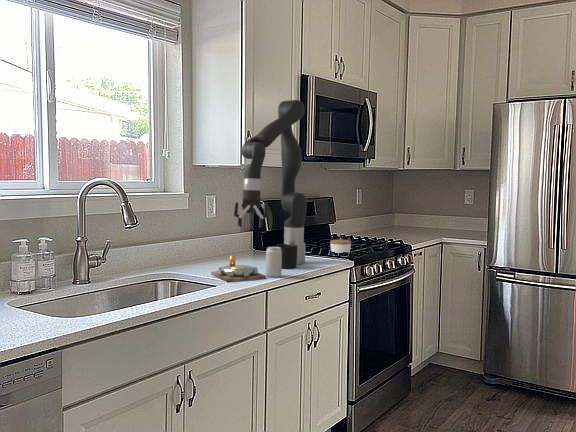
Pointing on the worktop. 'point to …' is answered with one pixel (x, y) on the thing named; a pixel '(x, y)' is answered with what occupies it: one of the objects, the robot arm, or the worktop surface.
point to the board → (238, 277)
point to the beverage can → (273, 262)
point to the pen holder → (288, 256)
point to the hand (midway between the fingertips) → (250, 227)
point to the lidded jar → (340, 246)
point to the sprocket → (237, 269)
